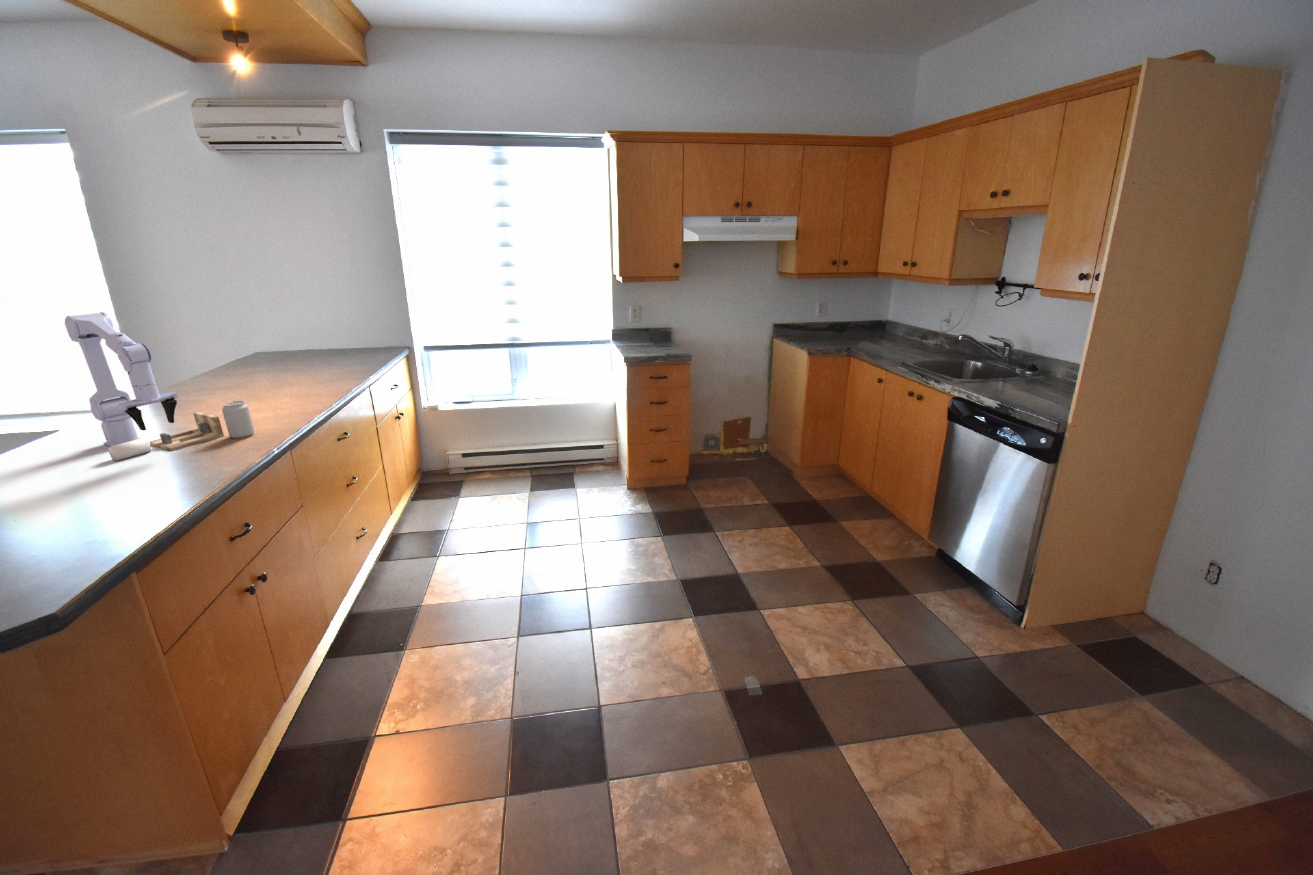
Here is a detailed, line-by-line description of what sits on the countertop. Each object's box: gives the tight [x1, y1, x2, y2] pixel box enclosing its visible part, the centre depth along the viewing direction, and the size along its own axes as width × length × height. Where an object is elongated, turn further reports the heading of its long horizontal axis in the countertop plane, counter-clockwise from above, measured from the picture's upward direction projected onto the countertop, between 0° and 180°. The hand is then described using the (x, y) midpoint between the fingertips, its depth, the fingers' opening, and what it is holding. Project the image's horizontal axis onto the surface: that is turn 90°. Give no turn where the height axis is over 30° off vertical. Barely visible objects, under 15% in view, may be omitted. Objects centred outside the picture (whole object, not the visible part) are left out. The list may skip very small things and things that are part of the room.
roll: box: [107, 437, 152, 462], centre depth 190 cm, size 5×9×5 cm, turn 152°
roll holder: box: [149, 411, 225, 452], centre depth 203 cm, size 14×16×7 cm
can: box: [221, 400, 255, 439], centre depth 206 cm, size 8×8×12 cm
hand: (157, 426), depth 187 cm, fingers open, 7 cm apart
